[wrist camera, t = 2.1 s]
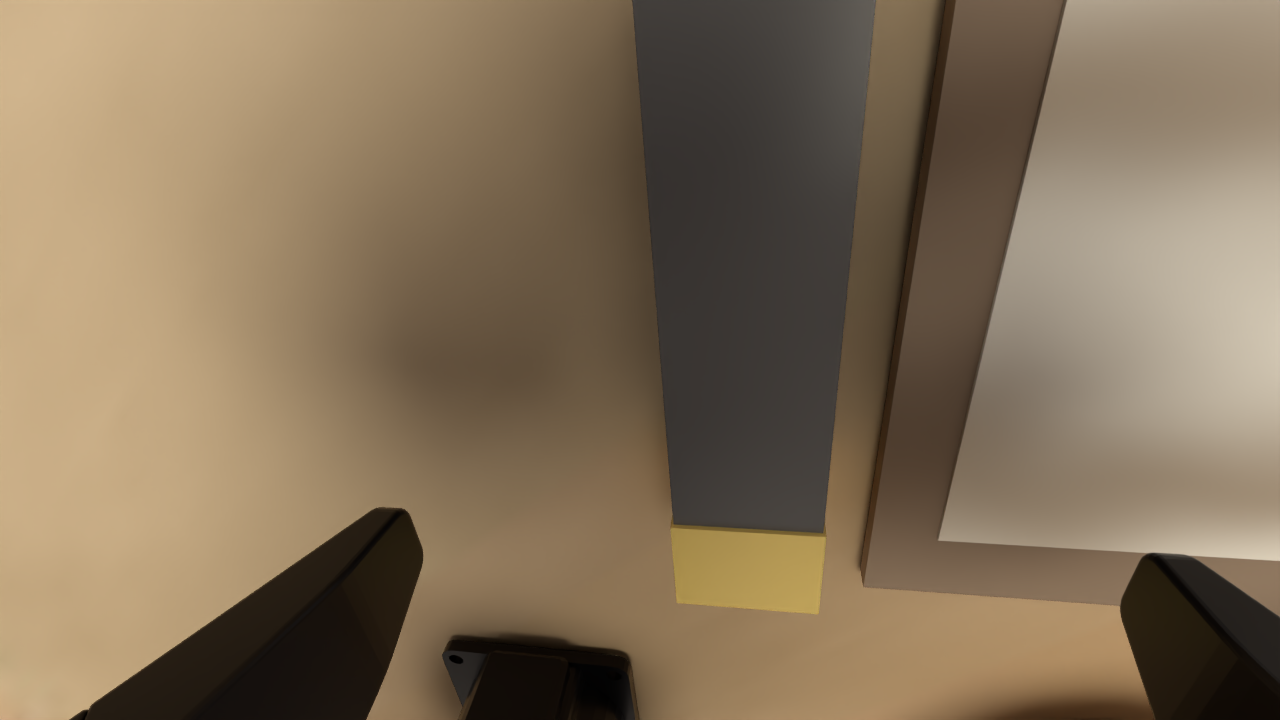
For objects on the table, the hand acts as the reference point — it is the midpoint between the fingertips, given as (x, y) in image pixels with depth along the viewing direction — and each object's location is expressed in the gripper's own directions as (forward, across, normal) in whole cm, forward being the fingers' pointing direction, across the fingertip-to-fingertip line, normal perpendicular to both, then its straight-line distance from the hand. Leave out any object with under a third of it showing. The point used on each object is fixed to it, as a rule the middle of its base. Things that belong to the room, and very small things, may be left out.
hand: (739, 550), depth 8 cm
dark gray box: (+7, 0, 0) cm, 7 cm away
